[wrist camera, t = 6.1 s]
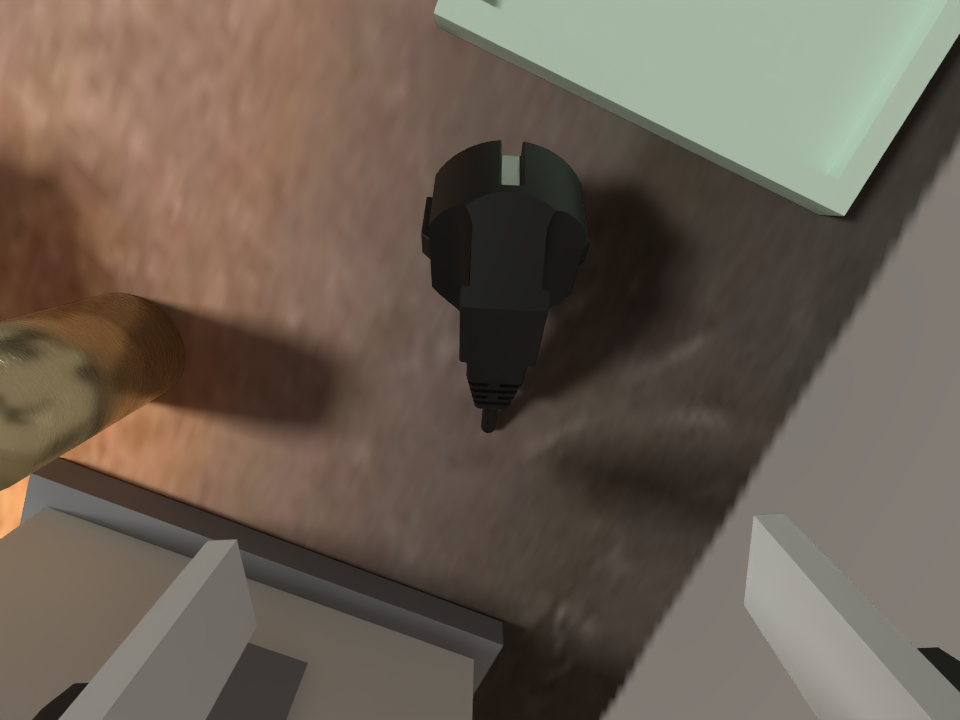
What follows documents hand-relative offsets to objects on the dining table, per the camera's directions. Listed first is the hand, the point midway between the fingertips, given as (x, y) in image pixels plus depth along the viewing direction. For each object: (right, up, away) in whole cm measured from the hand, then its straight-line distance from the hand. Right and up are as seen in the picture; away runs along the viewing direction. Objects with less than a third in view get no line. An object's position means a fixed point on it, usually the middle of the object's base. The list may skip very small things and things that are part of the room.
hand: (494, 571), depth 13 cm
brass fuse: (-16, +6, +10) cm, 20 cm away
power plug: (0, +5, +12) cm, 13 cm away
